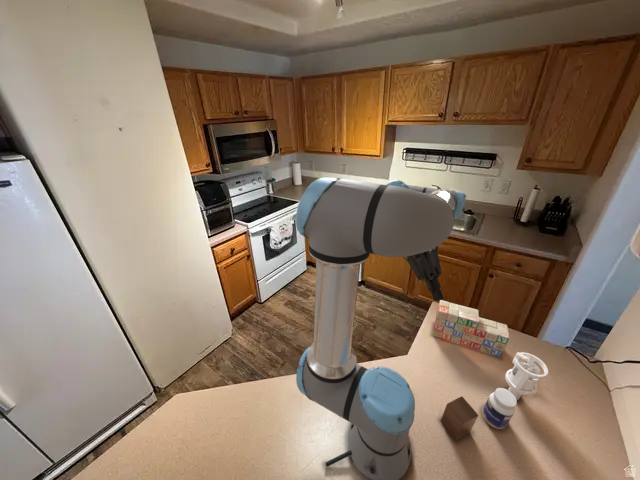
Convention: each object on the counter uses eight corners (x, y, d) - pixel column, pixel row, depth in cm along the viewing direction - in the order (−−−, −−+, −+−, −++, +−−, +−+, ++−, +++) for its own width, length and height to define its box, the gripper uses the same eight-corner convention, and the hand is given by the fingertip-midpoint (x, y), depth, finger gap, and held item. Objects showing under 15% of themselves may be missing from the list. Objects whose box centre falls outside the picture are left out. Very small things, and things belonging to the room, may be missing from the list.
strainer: (503, 377, 79) (520, 345, 72) (531, 394, 75) (552, 361, 67) (495, 393, 75) (513, 360, 68) (524, 412, 70) (546, 379, 63)
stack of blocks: (498, 343, 90) (510, 318, 84) (500, 358, 85) (513, 332, 79) (433, 323, 99) (440, 298, 93) (431, 335, 94) (438, 310, 88)
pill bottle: (476, 411, 71) (487, 389, 66) (492, 403, 73) (503, 382, 68) (495, 433, 66) (507, 412, 62) (511, 425, 68) (525, 403, 63)
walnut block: (455, 440, 65) (463, 423, 61) (440, 420, 69) (447, 403, 65) (470, 431, 67) (478, 415, 63) (454, 412, 71) (462, 396, 67)
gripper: (421, 230, 91) (447, 295, 85) (390, 237, 87) (414, 306, 81) (435, 222, 84) (464, 293, 79) (401, 229, 80) (430, 304, 75)
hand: (439, 299), depth 80 cm, fingers closed
